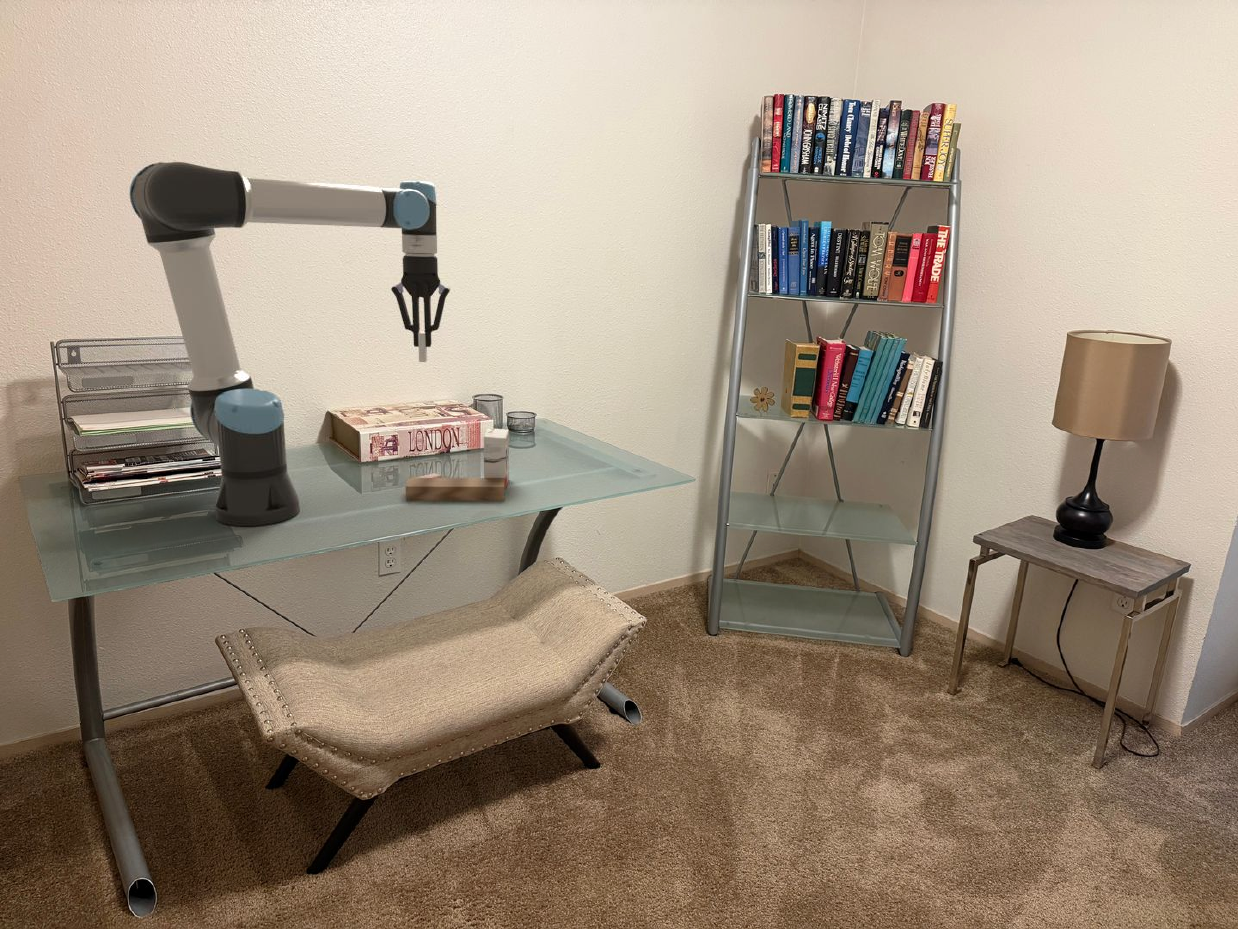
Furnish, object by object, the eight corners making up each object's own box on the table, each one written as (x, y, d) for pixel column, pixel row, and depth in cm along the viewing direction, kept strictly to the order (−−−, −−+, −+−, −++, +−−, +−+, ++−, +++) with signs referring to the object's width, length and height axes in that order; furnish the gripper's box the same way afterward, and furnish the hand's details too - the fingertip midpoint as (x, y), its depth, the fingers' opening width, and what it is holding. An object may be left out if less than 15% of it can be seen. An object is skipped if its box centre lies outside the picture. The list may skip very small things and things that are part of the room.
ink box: (506, 490, 187) (506, 437, 183) (483, 490, 186) (482, 437, 183) (509, 478, 195) (509, 428, 192) (487, 478, 195) (487, 427, 191)
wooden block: (405, 500, 178) (405, 486, 177) (409, 491, 184) (409, 477, 183) (503, 500, 180) (503, 486, 179) (504, 491, 186) (504, 478, 185)
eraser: (419, 490, 186) (419, 481, 186) (412, 487, 188) (411, 478, 187) (441, 483, 191) (441, 475, 190) (434, 481, 192) (433, 472, 192)
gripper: (387, 254, 186) (391, 363, 193) (448, 256, 188) (450, 364, 194) (392, 253, 194) (396, 357, 200) (451, 254, 195) (453, 358, 202)
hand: (423, 360), depth 197 cm, fingers closed
